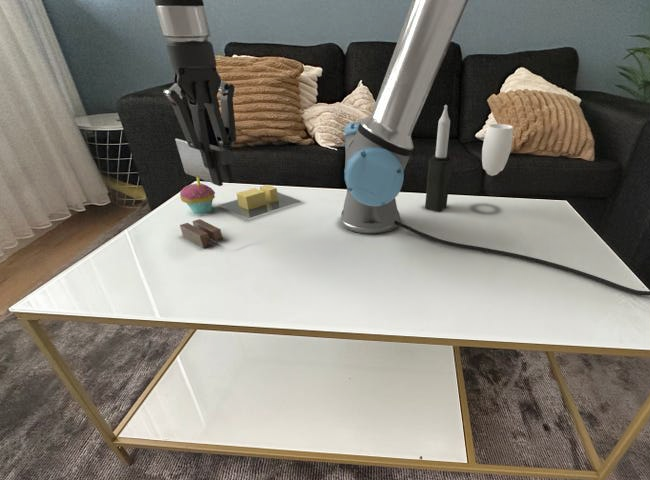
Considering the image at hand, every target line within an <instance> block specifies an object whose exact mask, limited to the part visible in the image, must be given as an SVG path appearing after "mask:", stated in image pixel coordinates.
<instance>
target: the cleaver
mask: <svg viewBox="0 0 650 480" xmlns="http://www.w3.org/2000/svg"><path fill="white" fill-rule="evenodd" d="M174 141H175V144H176V147H177V151H178V153H179V157H180V161H181V164H182V167H183V171H184V173H185V174H186V175H189V176H192V177H195V178H196V179H197V178H200V180H203V181H205V182H208V183H211V184H212V180H211V176H210V172H209V169H208V168H205V166H204V164H203V160H202V156H201V152H200V151H199V150H197V149H194V148H191V147H189V145H188V143H187V141H186V140H184V139H180V138H175V139H174ZM217 146H218V145H217ZM217 146H216V145H214V144H210V150H213V151H215V155H216V160H217V163H218V164H219V163H221V164H224V165H227V164H229V165H232V164H233V159H232V155H231V154H232V153H231V150H230V149H229V150H227V149H224V148H221V147H220V146H219V147H217ZM231 163H232V164H231Z"/></svg>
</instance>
